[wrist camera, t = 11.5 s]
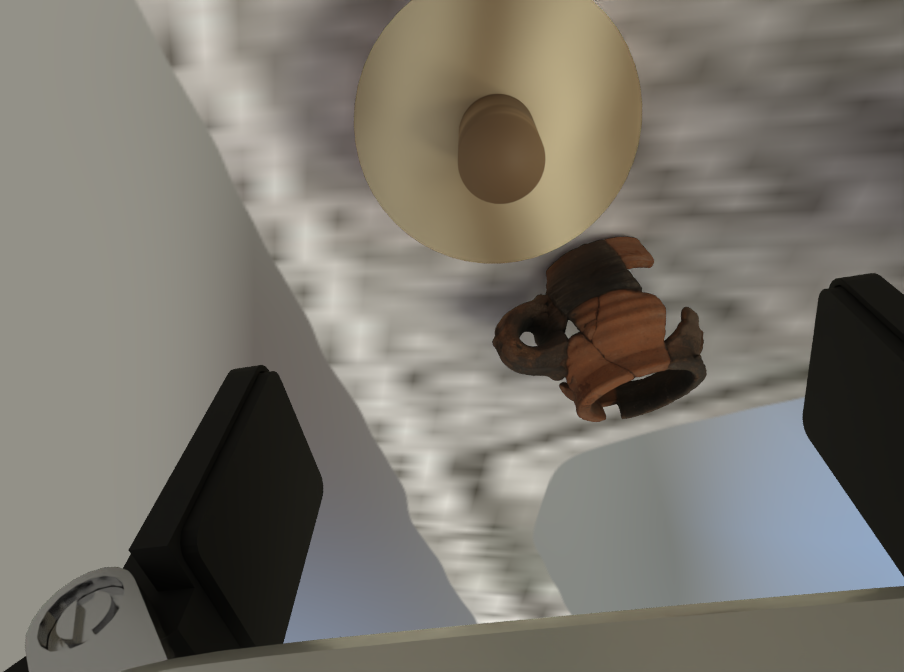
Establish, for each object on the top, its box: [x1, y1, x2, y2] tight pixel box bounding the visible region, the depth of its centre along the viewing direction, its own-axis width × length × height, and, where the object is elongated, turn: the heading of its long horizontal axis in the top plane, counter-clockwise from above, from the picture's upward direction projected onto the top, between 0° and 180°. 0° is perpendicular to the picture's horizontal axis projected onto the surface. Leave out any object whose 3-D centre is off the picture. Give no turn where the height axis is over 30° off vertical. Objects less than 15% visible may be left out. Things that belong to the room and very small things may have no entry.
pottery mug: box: [492, 237, 707, 422], centre depth 36 cm, size 12×10×8 cm
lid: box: [354, 0, 642, 263], centre depth 25 cm, size 12×12×5 cm
